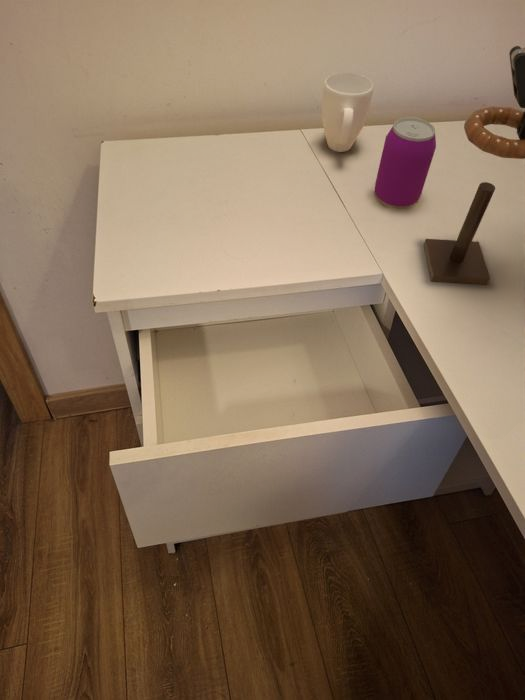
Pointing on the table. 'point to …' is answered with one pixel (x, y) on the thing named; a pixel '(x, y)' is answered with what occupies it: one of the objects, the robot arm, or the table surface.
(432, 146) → the beverage can
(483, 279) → the peg stand
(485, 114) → the ring
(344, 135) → the mug
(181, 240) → the table surface
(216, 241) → the table surface
